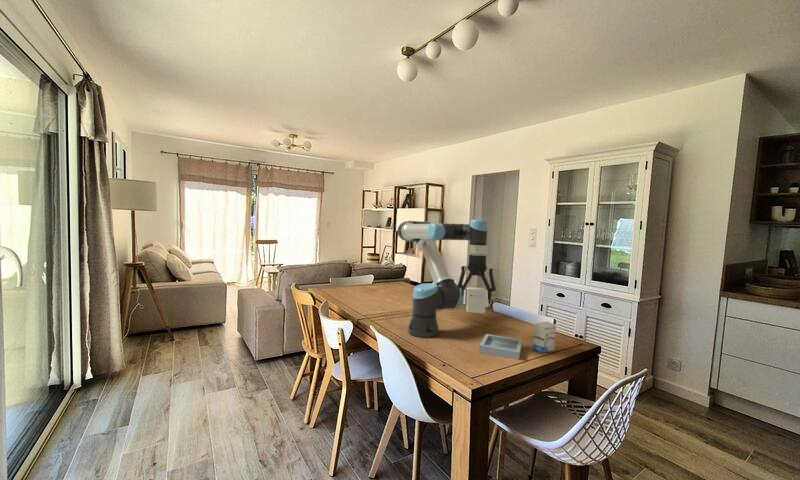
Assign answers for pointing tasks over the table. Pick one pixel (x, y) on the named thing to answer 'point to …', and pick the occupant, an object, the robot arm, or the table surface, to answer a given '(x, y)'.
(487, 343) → the tray
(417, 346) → the table surface
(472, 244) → the robot arm
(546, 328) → the ink box
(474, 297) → the small box
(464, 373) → the table surface
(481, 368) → the table surface
